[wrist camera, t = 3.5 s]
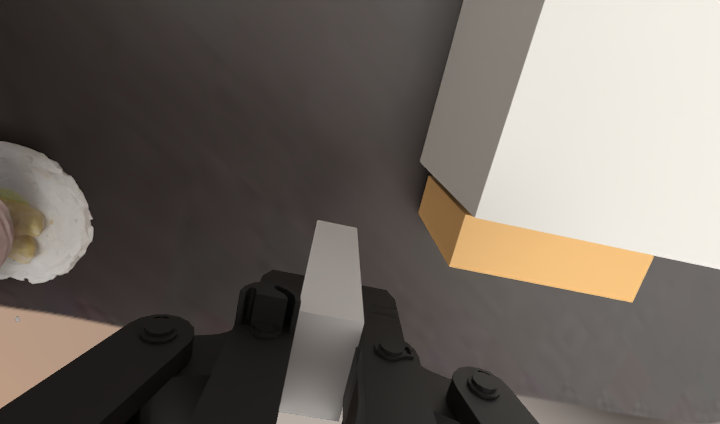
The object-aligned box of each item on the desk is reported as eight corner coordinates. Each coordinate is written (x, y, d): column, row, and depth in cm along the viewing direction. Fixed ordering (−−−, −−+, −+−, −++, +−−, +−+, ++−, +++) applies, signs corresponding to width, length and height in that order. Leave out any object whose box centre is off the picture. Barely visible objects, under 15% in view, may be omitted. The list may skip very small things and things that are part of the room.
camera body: (418, 166, 23) (482, 235, 13) (486, -84, 20) (652, -275, 9) (742, 237, 25) (1029, 348, 15) (855, 24, 22) (1332, -30, 11)
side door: (417, 214, 23) (448, 267, 16) (428, 174, 22) (465, 213, 16) (550, 241, 24) (631, 303, 17) (565, 204, 23) (655, 253, 17)
